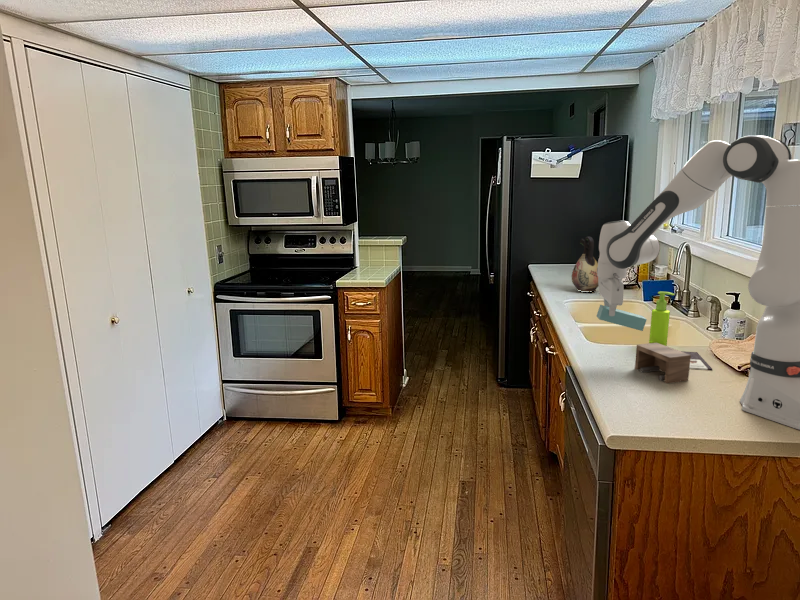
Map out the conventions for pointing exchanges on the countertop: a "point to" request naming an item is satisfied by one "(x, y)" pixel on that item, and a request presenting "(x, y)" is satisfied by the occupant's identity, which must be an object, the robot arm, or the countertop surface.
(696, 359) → the chocolate bar
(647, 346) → the shelf
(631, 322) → the case
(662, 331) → the soap dispenser
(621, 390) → the countertop surface
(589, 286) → the ceramic jug
